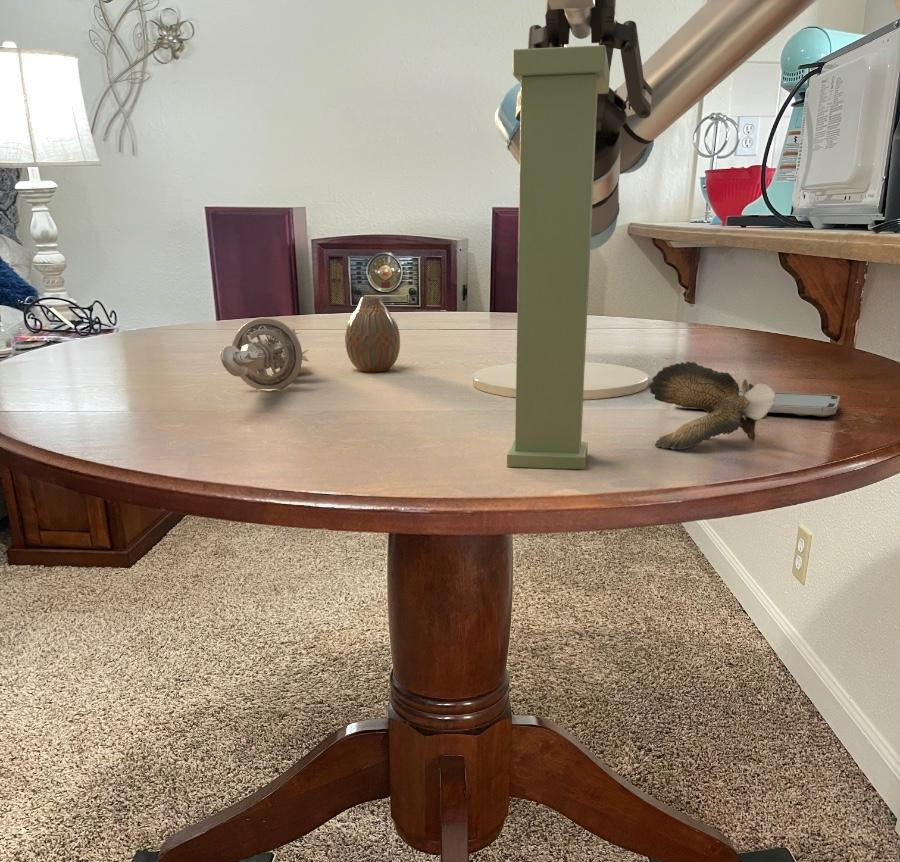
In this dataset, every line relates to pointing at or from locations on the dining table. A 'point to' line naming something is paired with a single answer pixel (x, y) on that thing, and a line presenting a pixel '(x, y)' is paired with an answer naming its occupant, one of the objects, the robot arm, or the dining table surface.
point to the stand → (554, 249)
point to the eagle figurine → (709, 403)
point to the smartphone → (802, 404)
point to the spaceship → (264, 354)
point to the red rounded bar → (576, 15)
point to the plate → (596, 380)
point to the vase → (372, 336)
